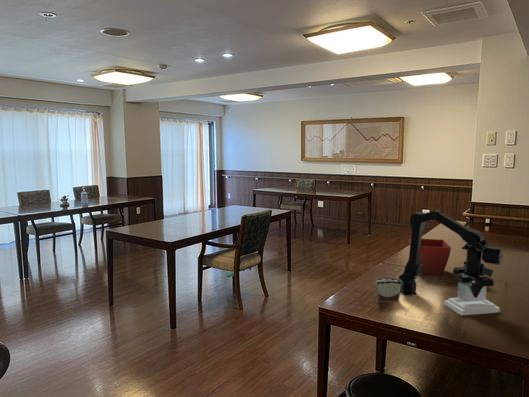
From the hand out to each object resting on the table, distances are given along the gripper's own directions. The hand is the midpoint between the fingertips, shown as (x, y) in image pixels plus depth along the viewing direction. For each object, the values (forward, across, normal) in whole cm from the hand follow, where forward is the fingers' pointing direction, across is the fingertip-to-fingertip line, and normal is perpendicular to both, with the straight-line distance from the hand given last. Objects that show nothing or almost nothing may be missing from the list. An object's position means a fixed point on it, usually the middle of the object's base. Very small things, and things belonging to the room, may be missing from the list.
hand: (471, 295), depth 172 cm
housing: (+2, 0, 0) cm, 2 cm away
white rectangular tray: (+6, 0, 0) cm, 6 cm away
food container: (+6, +17, +31) cm, 36 cm away
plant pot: (+6, +52, -12) cm, 54 cm away
